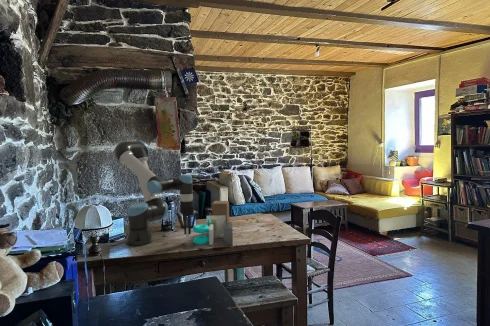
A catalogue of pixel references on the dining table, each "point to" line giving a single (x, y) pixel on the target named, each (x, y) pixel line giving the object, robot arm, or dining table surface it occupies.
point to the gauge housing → (221, 228)
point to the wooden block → (221, 208)
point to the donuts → (202, 238)
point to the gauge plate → (211, 233)
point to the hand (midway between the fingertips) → (187, 239)
